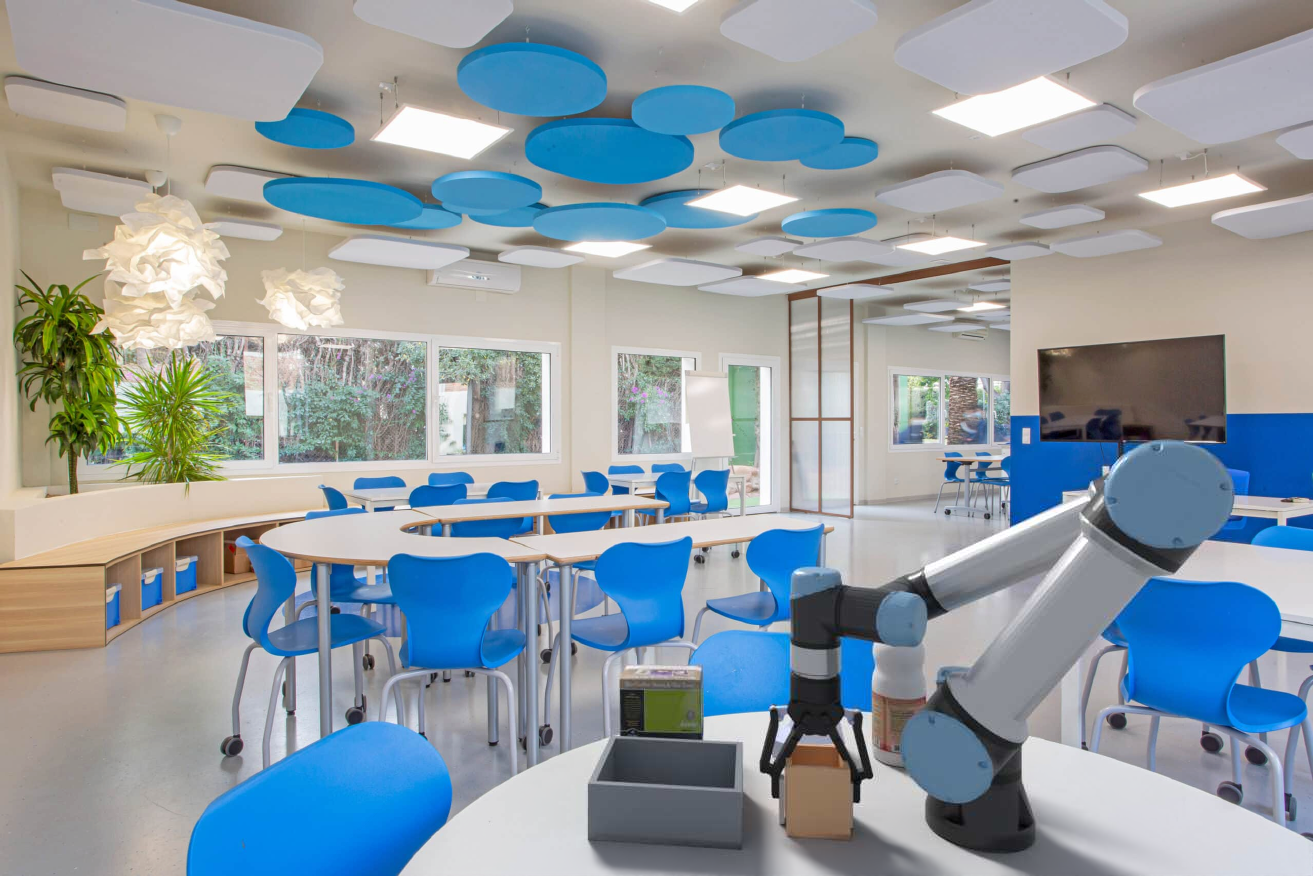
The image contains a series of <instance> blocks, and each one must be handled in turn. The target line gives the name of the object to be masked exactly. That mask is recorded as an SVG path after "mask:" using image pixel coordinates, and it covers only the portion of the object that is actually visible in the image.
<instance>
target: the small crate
mask: <svg viewBox="0 0 1313 876" xmlns="http://www.w3.org/2000/svg"><path fill="white" fill-rule="evenodd" d="M783 772H784V779H785V829H786V837H794V838H809V839H824V840H826V839H827V840H839V841H840V840H841V841H851V839H852V838H851V831H852V828H850V767H849V764H848V761H843V760H842V758H841V757H840V755H839V753H838V751H837V749H836V747H835V745H834V744H800V743H798V744H797V745H796V747H795V749H794V751H793V753H792V754H791V756H790V758H786V765H785V767H784V769H783Z"/></svg>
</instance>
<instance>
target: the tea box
mask: <svg viewBox="0 0 1313 876" xmlns="http://www.w3.org/2000/svg"><path fill="white" fill-rule="evenodd" d="M703 675H704V672H703V665H699V664H694V665H693V664H691V665H689V664H687V665H686V664H685V665H683V664H629V663H627V664H626V666H625V668H624V669H623V671H622V673H621V675H620V677H619V736H628V737H648V738H668V739H688V740H704V726H705V725H704V723H705V722H704V721H705V720H704V684H703V683H704V680H703V679H704V676H703Z"/></svg>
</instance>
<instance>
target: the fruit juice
mask: <svg viewBox="0 0 1313 876" xmlns="http://www.w3.org/2000/svg"><path fill="white" fill-rule="evenodd" d="M925 650H926V649H925V647H924V645H923V643H922V642H921V643H920V644H919V645H918V646H916V647H901V646H897V647H892V646H889V645H886V644H880V643H875V642H873V645H872V656H873V660H874V665H875V667H874V670H873V673H872V679H871V751H872V754H873V756H874V758H875V759H876V760H878V761H880V762H881V763H883V764H886V765H889V766H892V767H899V768H905V766H904V764H903V761H902V757H901V752H900V745H899V744H900V737H901V733H902V731H903V729H904V726H905V724H906V722H907V720H908V719H909V718H910V717H911V716H913V715H915V714H916V713H918V712H919V711H920V709H921V708H922V707H923V706H924V705H925V703H926V702H927V683H926V682H927V681H926V677H925V675H924V671H923V668H924V664H925V660H926V651H925Z"/></svg>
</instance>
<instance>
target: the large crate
mask: <svg viewBox="0 0 1313 876" xmlns="http://www.w3.org/2000/svg"><path fill="white" fill-rule="evenodd" d="M743 798H744V742H743V741H728V740H710V739H709V740H707V739H706V740H704V739H703V740H688V739H668V738H648V737H628V736H620V735H610V737H609V739H608V741H607V743H606V745H605V747H604V749H603V751H602V753H601V755H600V757H599V760H598V761H597V763H596V766H595V768H594V769H593V772H592V774H591V776H590V778H589V780H588V781H587V840H591V841H593V840H594V841H603V842H604V841H605V842H620V843H621V842H623V843H634V844H635V843H638V844H653V845H668V846H683V847H696V848H710V849H711V848H712V849H725V850H726V849H727V850H740V851H741V850H742V847H743V846H742V843H743V841H742V840H743V835H742V834H743V802H744V801H743V800H744V799H743Z"/></svg>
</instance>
